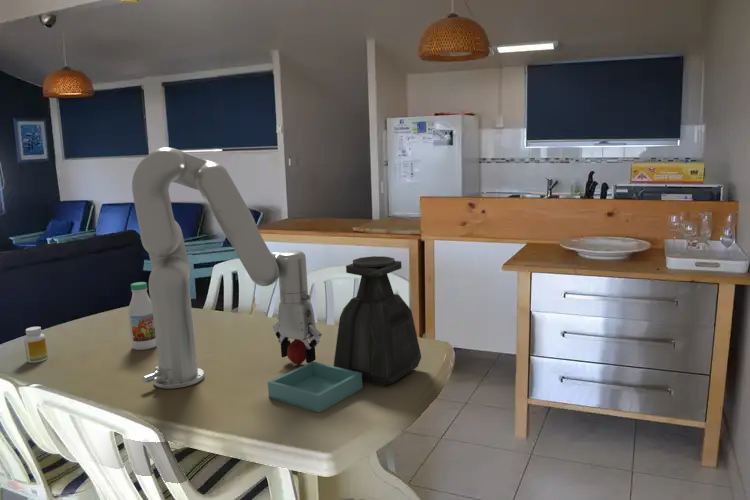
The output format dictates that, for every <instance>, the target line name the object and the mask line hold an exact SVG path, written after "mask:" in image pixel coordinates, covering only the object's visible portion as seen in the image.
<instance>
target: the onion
mask: <svg viewBox="0 0 750 500" xmlns="http://www.w3.org/2000/svg"><path fill="white" fill-rule="evenodd" d="M305 349H307V347H306V345H305V343H304V342H303V340H297V339H293V341H290V345H289V346H288V349H287V356H286V357H287V358H288V360H289V361H290V362H292V363H293V364H295V365H297V366H300V365H302V364H303V363H304V362H306V354H305Z"/></svg>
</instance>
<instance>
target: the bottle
mask: <svg viewBox="0 0 750 500" xmlns="http://www.w3.org/2000/svg"><path fill="white" fill-rule="evenodd" d="M395 259H396V258H394V257H390V256H384V255H383V256H382V255H381V256H365V257H358V258H356V259H353V260H352V263H350V264H347V265H345V272H346V274H350V275H357V276H360V277H361V278H360V281H359V285H358V289H357V292H356V296H355V297H352V298H350V300H349V301H348V303H346V305H345V306H344V307H343V309H342V311H341V314H340V316H339V321H338V328H337V335H336V336H337V337H336V344H335V351H334V360H333V366H335V367H339V368H343V369H347V370H352V371H356V372H360V373H362V382H367V383H372V384H376V385H380V386H384V387H385V386H387V385H390V384H393V383H395V382H397V381H398V380H400V379H401V378H403V377H404V376H406V375H408V374H409V373H410V372H412V371H414V370H415V369H417V368H418V367H419V365H420V362H421V360H422V353H421V349H420V345H419V340H418V335H417V330H416V326H415V322H414V316H413V312H412V309H411V308H410V307H409V306H408V304H407V303H406V302H405V300H404V299H403V298H402V296H401V295H400V294H398V293H394V291H393V287H392V284H391V281H390V279H389V276H388V274H390V273H392V272H396V271H398V270H401V269H402V261H401V260H395Z"/></svg>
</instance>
